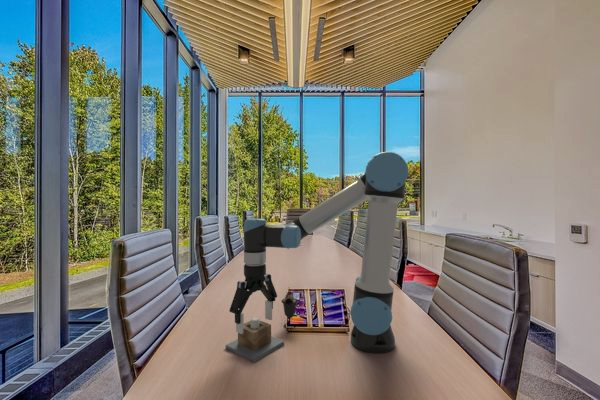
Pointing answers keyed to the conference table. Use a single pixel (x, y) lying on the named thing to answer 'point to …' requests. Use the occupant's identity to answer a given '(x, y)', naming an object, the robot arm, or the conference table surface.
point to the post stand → (258, 353)
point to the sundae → (289, 305)
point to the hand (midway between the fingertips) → (255, 325)
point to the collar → (255, 336)
